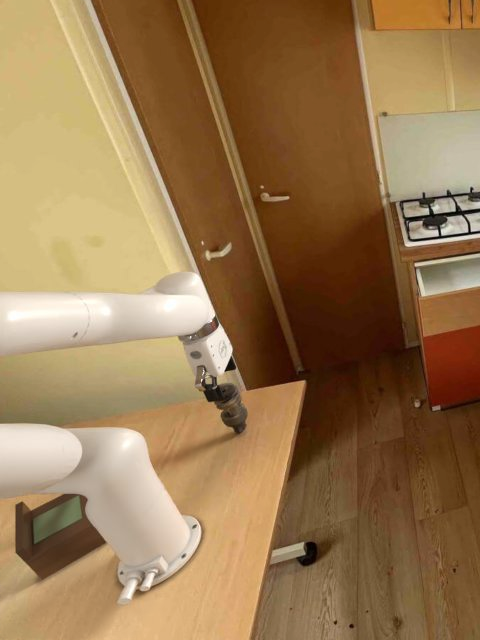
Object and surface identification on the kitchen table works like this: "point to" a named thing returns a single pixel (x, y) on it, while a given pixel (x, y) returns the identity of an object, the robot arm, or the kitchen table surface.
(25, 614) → the kitchen table surface
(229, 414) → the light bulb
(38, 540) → the brown piece
